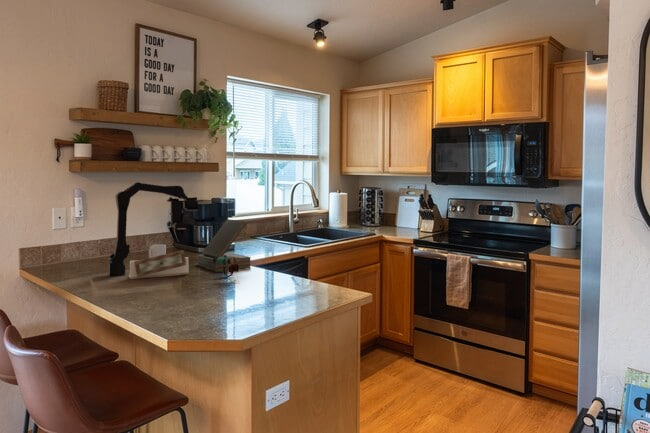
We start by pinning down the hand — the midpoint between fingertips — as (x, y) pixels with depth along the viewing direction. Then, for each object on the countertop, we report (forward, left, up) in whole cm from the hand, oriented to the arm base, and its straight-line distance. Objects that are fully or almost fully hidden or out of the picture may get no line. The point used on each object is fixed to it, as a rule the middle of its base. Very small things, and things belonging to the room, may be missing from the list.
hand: (177, 241), depth 239 cm
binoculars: (+16, -28, -15) cm, 35 cm away
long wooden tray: (-11, -14, -14) cm, 23 cm away
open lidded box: (+24, -1, -15) cm, 28 cm away
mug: (-7, +13, -15) cm, 21 cm away
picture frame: (-11, -16, -8) cm, 21 cm away
